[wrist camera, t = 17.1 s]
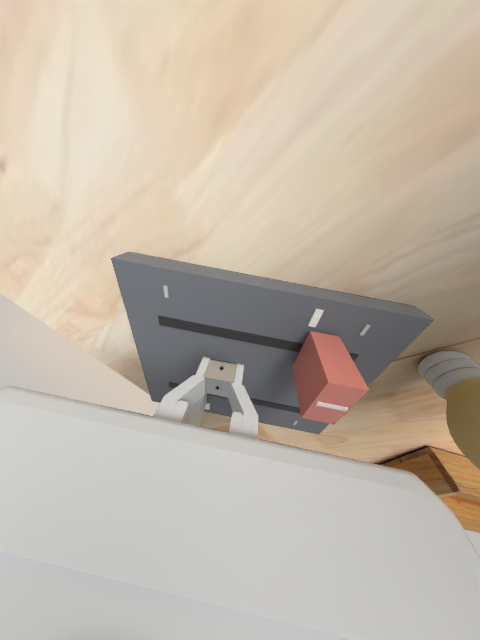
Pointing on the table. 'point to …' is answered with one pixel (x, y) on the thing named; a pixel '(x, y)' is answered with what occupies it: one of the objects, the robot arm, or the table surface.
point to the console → (251, 330)
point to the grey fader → (197, 411)
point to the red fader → (326, 379)
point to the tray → (447, 481)
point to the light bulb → (457, 396)
